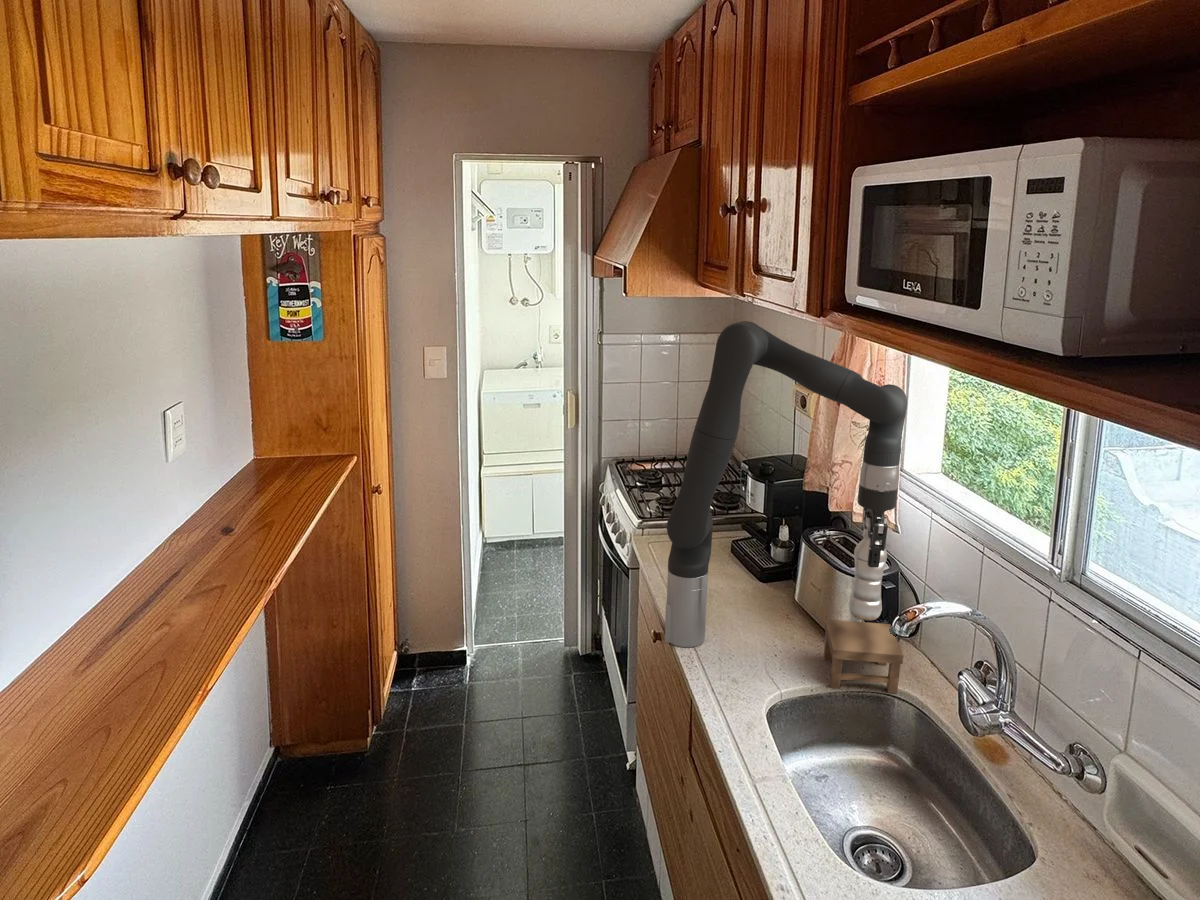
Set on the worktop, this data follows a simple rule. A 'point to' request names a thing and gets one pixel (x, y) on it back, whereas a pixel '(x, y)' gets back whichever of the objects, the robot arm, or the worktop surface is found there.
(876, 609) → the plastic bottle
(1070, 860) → the worktop surface
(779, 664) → the worktop surface
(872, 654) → the walnut stool
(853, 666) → the worktop surface
